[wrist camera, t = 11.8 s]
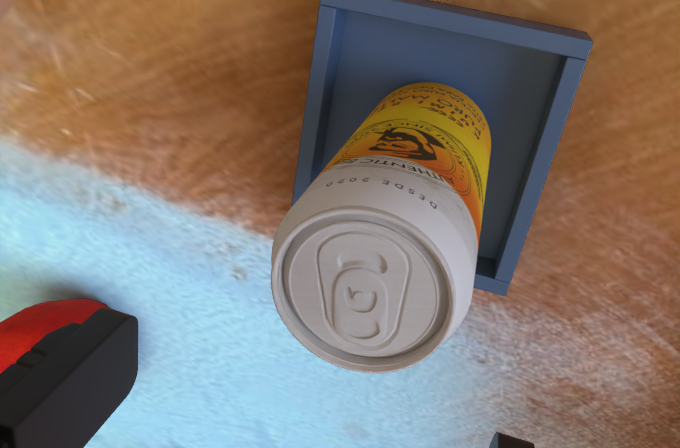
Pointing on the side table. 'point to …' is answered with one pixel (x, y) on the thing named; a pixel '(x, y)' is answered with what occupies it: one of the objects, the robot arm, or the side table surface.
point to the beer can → (388, 234)
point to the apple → (40, 325)
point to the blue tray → (462, 74)
